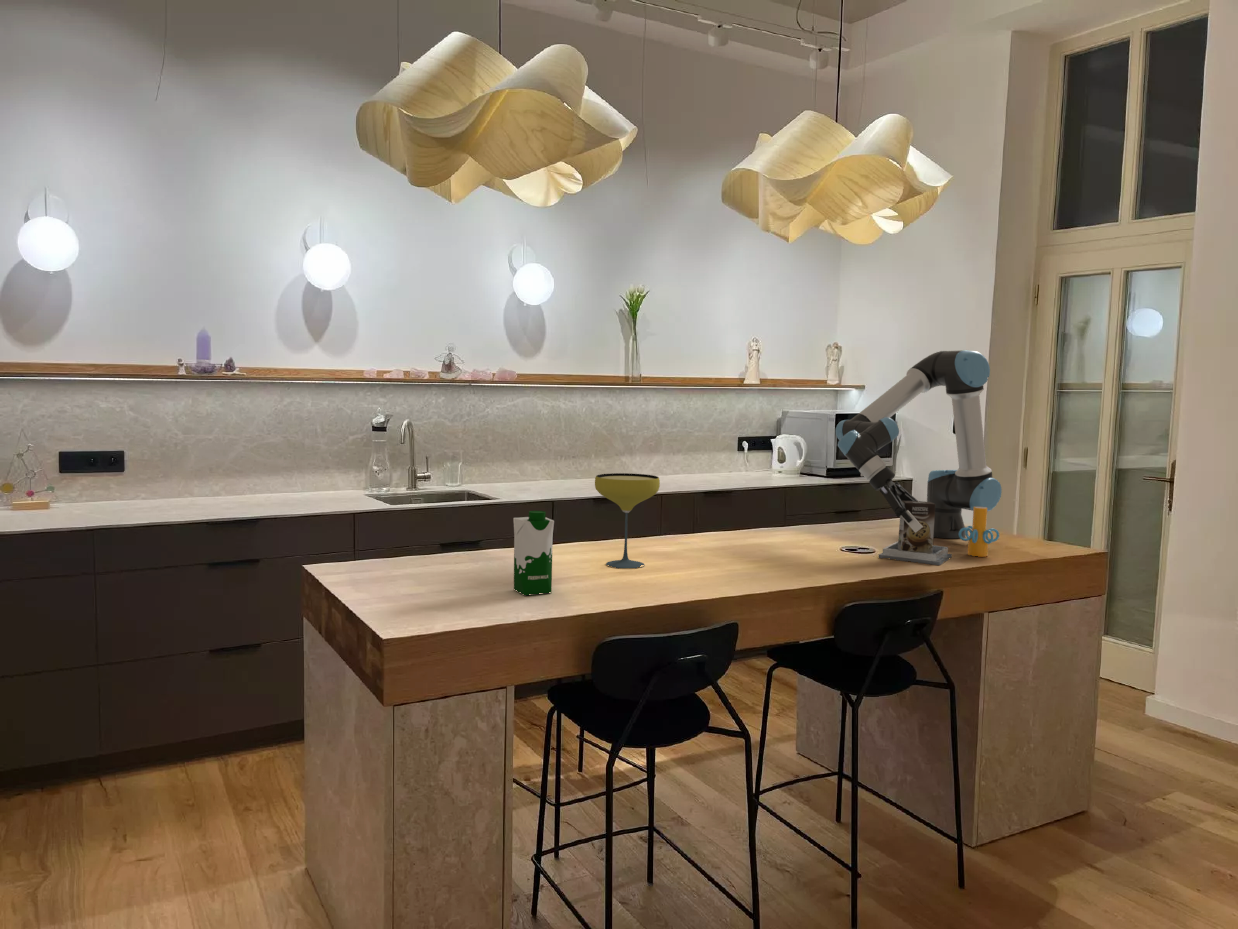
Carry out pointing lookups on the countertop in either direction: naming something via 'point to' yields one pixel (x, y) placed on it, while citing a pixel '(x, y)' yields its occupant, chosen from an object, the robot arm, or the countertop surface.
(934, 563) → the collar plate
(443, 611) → the countertop surface
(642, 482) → the cocktail glass
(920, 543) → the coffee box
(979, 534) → the yellow upright post
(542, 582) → the milk carton
